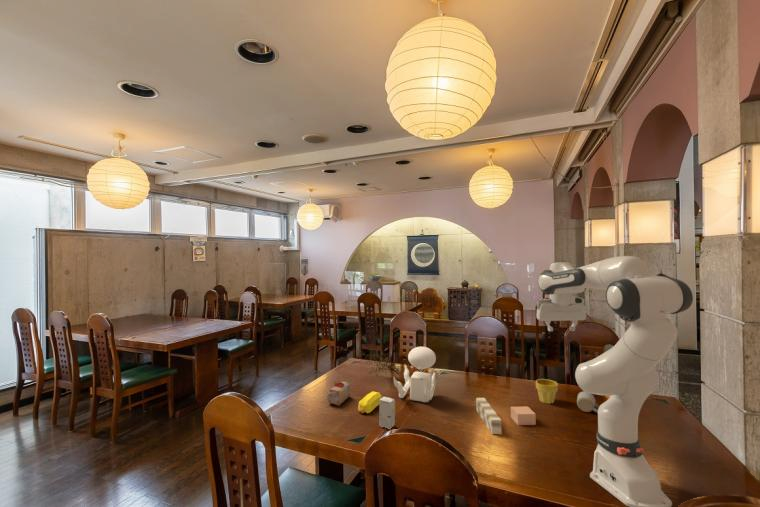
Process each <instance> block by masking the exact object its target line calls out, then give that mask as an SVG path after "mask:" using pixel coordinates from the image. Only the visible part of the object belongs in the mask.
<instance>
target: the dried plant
mask: <svg viewBox="0 0 760 507" xmlns="http://www.w3.org/2000/svg"><path fill="white" fill-rule="evenodd" d="M359 329H360V327H359ZM359 335H360V336H361V339H362V340H364V341H365V342H367V339H366V337H364V336H362V334H359ZM365 342H363V343H364V345H365V347H366V348H367V350H368V351H369V353H366V354H365V353H364V351H362V349H360V350H356V349H355V348H354V350H352V352H353V353H354V352H355V354H357V353H359V354H358V355H357V357H361V358H362V356H365V357H364V360H367V361H366V362H361V364H360V365H362V364H363V366H364V365H367V364H368V366H369V365H370V364H371V365H372V364H373V362H374V364H375V367H370V368H365V372H367V375H369V374H370V375H372V374H375V373H376V376H378V373H385V375H387V374H388V373H391V374H394V372H395V374H396V375H398V376H401V375H402V370H400V367H398V368H397V367H396V362H393V360H392V362H391V360H390V357H389V356H388V354H386V353H385V352H384V351H382V352H381V353H380V355H379V353H378V352H380V351H379V350H376V351H375V349H374V348H373V347H371V345H368V344H366V343H365ZM333 348H334V347H331V350H332V349H333ZM335 349H339V347H338V346H336V347H335ZM350 349H352V348H350ZM342 350H343V351H345V352H346V351H350V352H351V350H349V349H344V347H343V346H341V347H340V350H339V351H342ZM380 350H383V349H382V348H381V349H380ZM370 351H371V352H370ZM388 360H389V361H388ZM365 363H366V364H365ZM369 369H371V370H369ZM368 370H369V371H368Z"/></svg>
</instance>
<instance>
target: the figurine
mask: <svg viewBox="0 0 760 507" xmlns="http://www.w3.org/2000/svg"><path fill="white" fill-rule="evenodd" d="M407 358H408V359H407V360H408V362H409V363H410V365H411V366H413V367H414V368H417V369H420V370H422V369H423V370H425V369H429V368H432V366H434V364H436V360H437V357H436V353H435V352H434V351H433V350H432V349H431V348H429V347H427V346H416V347H413V348H412V349H411V350H410V351H409V352H408V355H407ZM403 378H404V381H405V383H404V385H403V384H402V382H401V381H398V380H397V379H396V378H395V376H394V375H393V386H394V387H395V388H396V389H397V392H398V398H400V399H404V397H406V395H407V393H408V391H409V400H411V401H416V402H420V403H426V402H427V403H429V402H430V401H431V400H432V399H433V396H434V395H435V389H436V381H437V380H436V372H435V371H434V372H433V373H429V372H422V371H414V372H413V373H412V375H411V376H410V370H409V368H408V367H407V365H406V364H404V371H403Z"/></svg>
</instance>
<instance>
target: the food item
mask: <svg viewBox="0 0 760 507" xmlns="http://www.w3.org/2000/svg"><path fill="white" fill-rule="evenodd" d="M326 397H327V402H328V403H329V404H331V405H333V404H334V406H338V407H339V406H341V405H342V404H343V403H344V402H345V401H346V400H348V398H350V397H351V389H350V383H349V382H347V381H339V382H337V381H334V386H332V387H331V388H329V390H328V392H327V396H326Z"/></svg>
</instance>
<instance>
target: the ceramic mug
mask: <svg viewBox="0 0 760 507" xmlns="http://www.w3.org/2000/svg"><path fill="white" fill-rule="evenodd" d="M576 405H577V407H578V409H579V410H580V411H581V412H584V413H590V412H592V411H593V412H595V413H597V414H598V409H599V407H600V405H599V404H597V402H596V399H595V397H594V394H591V393H586V392H584V391H583V390H582V391H580V392H579V393H578V394H577V398H576Z"/></svg>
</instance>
